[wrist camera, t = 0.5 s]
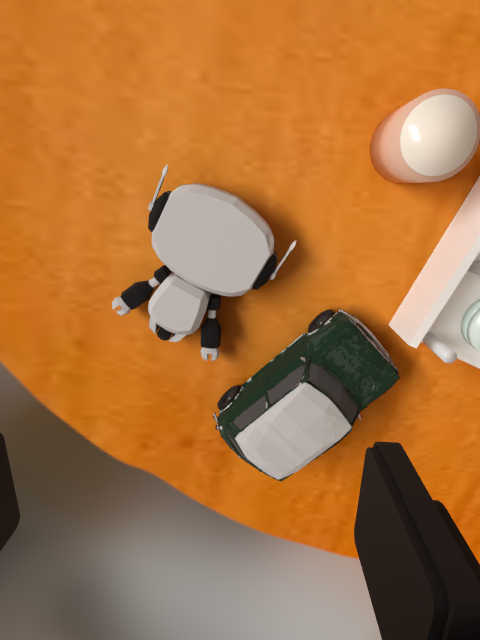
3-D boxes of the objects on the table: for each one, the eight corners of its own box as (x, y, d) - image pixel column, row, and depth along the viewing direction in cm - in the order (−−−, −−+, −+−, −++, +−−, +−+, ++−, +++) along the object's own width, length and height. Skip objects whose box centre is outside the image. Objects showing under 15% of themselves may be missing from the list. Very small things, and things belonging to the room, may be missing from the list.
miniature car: (395, 358, 39) (429, 398, 32) (264, 457, 44) (266, 513, 36) (339, 295, 38) (361, 322, 30) (208, 405, 42) (197, 453, 34)
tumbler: (393, 93, 32) (425, 71, 26) (456, 126, 32) (501, 111, 27) (357, 165, 34) (378, 159, 28) (416, 195, 34) (450, 195, 28)
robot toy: (221, 354, 41) (298, 229, 35) (215, 376, 37) (301, 238, 31) (114, 298, 39) (178, 158, 34) (96, 314, 35) (165, 157, 30)
